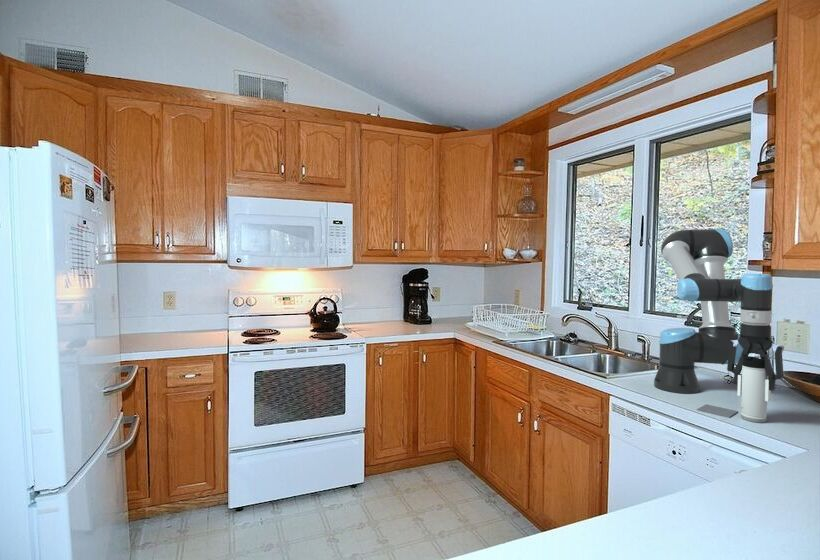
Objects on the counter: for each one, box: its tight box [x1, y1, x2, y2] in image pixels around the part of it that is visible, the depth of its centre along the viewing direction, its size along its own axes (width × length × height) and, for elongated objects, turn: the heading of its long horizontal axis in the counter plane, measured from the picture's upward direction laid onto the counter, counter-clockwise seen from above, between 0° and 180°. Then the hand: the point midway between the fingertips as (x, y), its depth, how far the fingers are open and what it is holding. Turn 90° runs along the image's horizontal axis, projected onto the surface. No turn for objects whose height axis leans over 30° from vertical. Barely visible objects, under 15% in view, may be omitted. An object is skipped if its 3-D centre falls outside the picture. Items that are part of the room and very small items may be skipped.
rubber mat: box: [696, 403, 739, 418], centre depth 142 cm, size 8×9×1 cm
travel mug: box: [740, 355, 768, 424], centre depth 134 cm, size 6×7×20 cm
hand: (753, 397), depth 134 cm, fingers closed on travel mug, 6 cm apart
